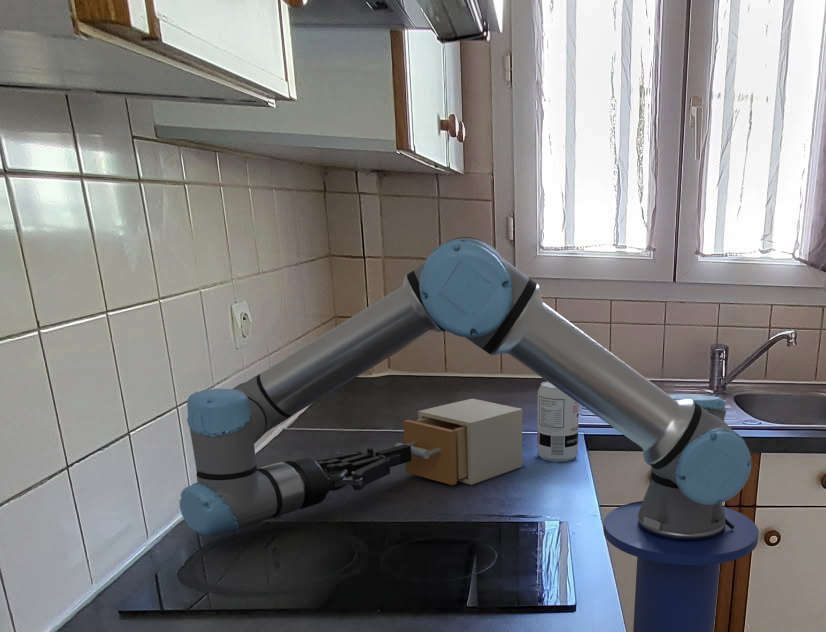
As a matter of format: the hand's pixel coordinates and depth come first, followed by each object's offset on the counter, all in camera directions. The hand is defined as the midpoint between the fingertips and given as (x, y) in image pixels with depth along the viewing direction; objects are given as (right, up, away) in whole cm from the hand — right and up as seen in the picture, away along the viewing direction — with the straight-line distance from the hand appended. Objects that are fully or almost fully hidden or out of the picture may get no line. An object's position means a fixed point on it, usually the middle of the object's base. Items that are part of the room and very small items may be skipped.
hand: (407, 452), depth 143 cm
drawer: (+4, -3, +10) cm, 11 cm away
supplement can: (+23, +1, +27) cm, 35 cm away
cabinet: (+8, -2, +16) cm, 18 cm away
